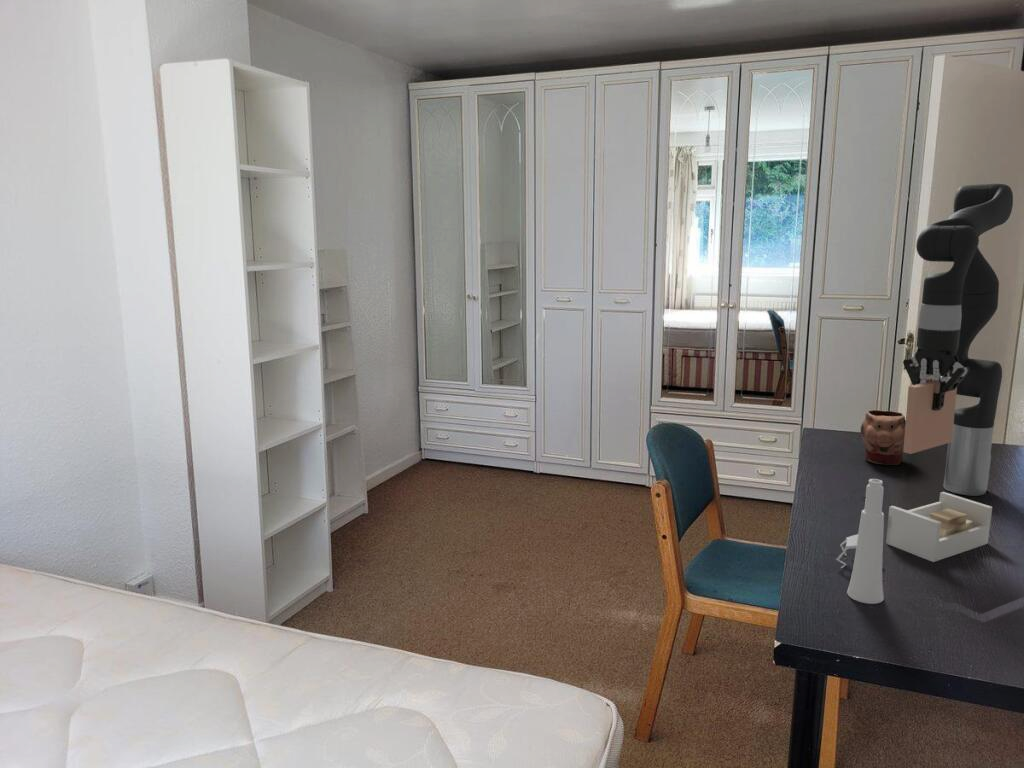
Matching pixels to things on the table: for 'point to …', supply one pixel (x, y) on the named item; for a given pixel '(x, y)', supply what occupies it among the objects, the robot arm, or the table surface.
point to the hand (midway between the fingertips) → (931, 408)
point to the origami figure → (848, 546)
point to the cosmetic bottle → (869, 549)
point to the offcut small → (949, 518)
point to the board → (927, 419)
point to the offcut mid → (956, 529)
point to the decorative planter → (883, 436)
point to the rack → (937, 528)
